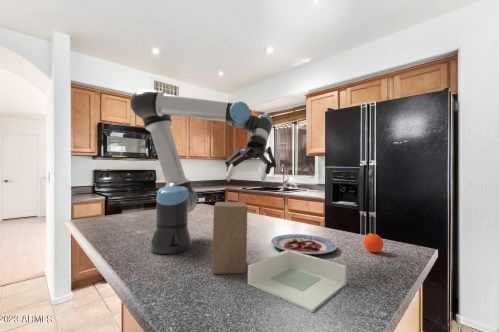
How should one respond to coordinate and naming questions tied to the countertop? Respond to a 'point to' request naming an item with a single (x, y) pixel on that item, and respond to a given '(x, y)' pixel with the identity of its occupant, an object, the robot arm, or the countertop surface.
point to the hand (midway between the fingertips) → (244, 179)
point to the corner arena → (298, 278)
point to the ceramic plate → (304, 244)
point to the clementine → (373, 243)
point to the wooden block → (229, 238)
